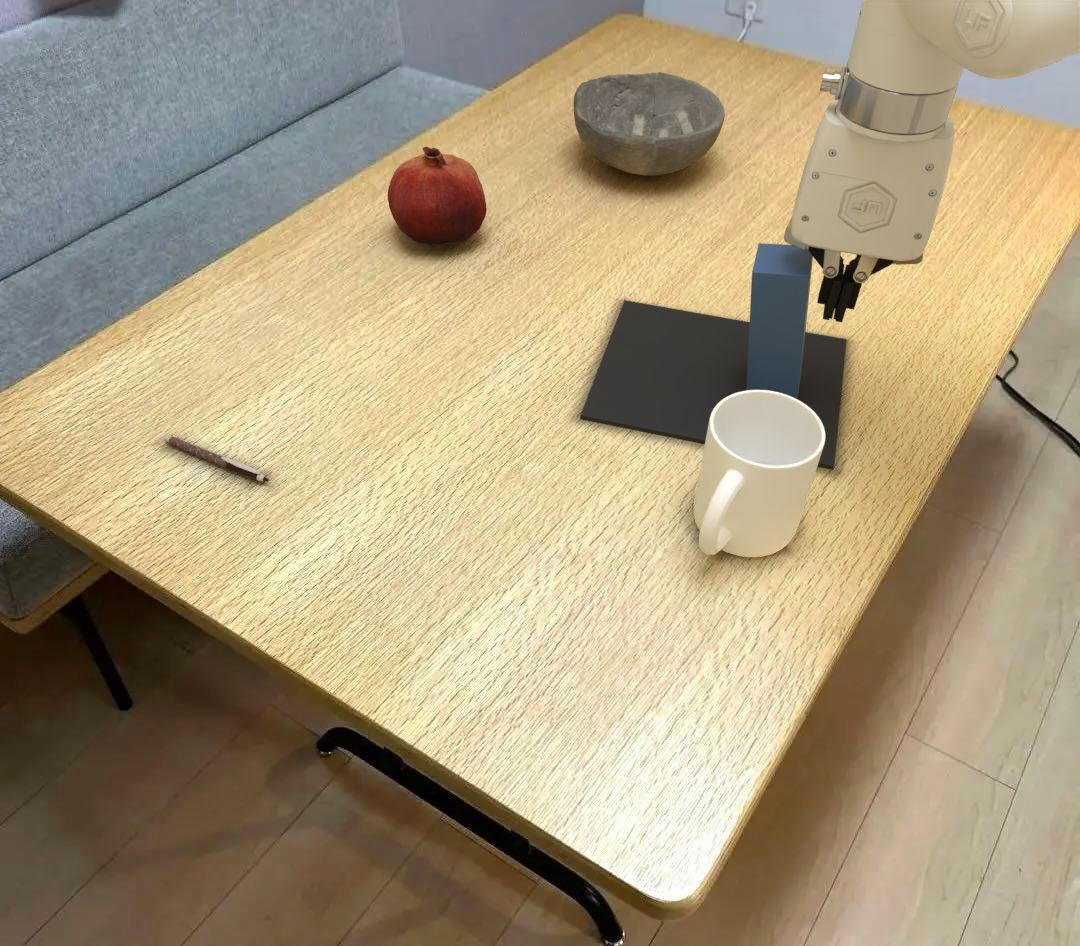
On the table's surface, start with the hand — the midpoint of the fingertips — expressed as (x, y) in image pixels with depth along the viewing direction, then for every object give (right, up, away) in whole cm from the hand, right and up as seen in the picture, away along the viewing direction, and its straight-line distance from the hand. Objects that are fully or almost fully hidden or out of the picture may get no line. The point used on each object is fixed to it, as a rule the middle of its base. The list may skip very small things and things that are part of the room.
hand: (833, 311), depth 79 cm
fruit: (-36, +12, +25) cm, 45 cm away
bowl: (-12, +24, +37) cm, 46 cm away
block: (-3, -5, +7) cm, 9 cm away
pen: (-52, -13, 0) cm, 53 cm away
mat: (-8, -5, +8) cm, 12 cm away
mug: (-10, -19, -5) cm, 21 cm away
